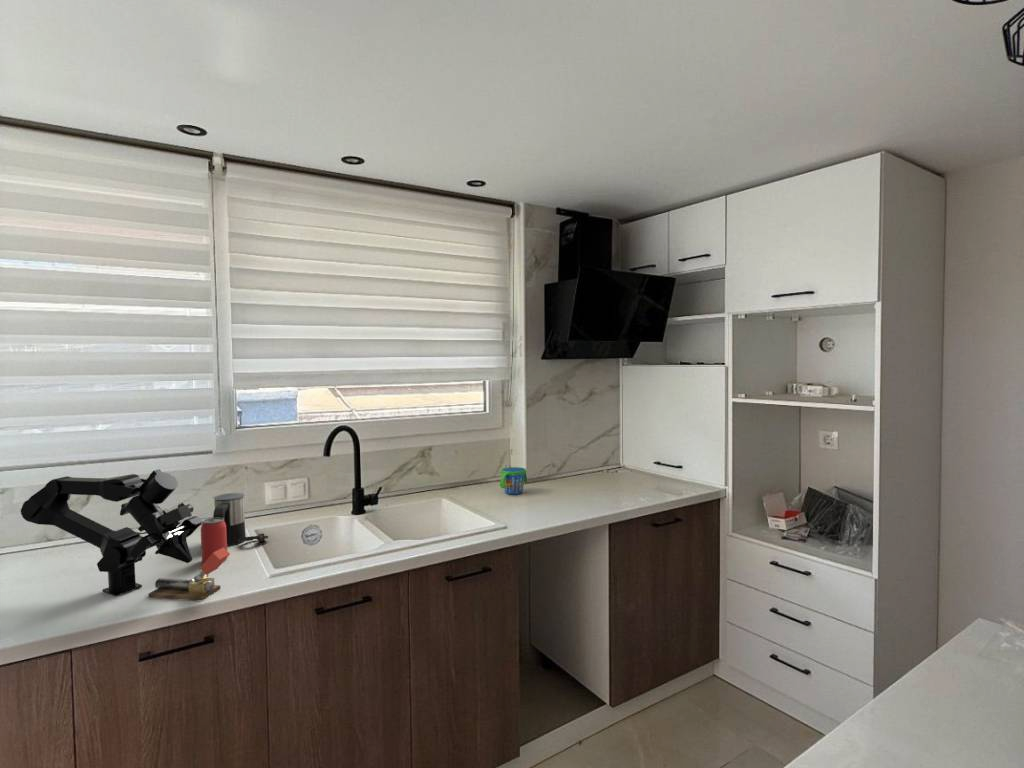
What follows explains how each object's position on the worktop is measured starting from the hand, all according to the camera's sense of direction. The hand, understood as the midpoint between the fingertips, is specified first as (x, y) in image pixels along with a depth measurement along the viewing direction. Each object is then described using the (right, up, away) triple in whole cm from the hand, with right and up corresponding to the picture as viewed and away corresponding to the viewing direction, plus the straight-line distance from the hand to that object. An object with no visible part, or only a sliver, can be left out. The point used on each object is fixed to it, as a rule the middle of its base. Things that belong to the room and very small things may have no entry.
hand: (190, 561), depth 143 cm
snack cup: (+81, -2, +100) cm, 129 cm away
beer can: (-6, -7, +24) cm, 25 cm away
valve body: (-2, -7, +1) cm, 8 cm away
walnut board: (-2, -8, +1) cm, 8 cm away
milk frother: (-6, -6, +40) cm, 41 cm away
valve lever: (+3, -4, 0) cm, 5 cm away
